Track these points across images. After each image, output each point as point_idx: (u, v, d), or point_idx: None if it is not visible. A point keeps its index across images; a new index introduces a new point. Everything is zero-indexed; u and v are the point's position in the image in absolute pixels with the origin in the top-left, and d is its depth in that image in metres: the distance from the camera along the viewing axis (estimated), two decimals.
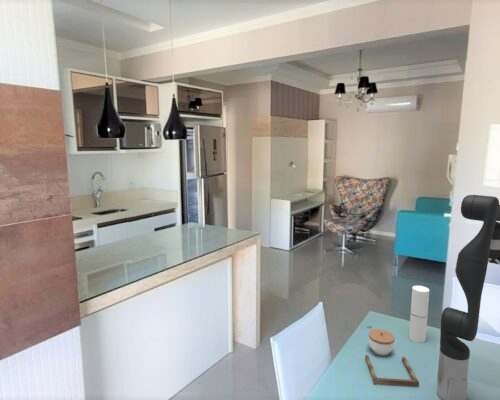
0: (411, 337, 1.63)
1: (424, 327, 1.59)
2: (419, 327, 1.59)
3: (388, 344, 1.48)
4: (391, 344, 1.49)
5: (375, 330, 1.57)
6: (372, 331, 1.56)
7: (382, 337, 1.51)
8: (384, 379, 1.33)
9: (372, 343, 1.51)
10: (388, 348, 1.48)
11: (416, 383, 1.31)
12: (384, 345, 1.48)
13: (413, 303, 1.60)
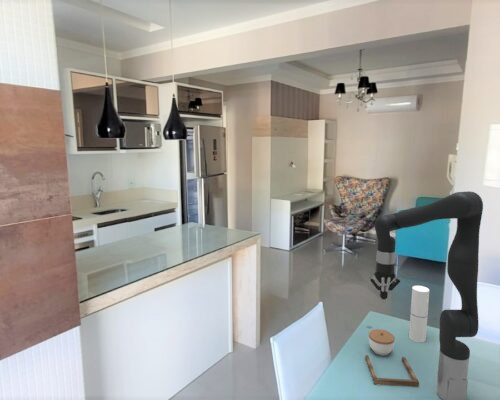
0: (411, 337, 1.63)
1: (424, 327, 1.59)
2: (419, 327, 1.59)
3: (388, 344, 1.48)
4: (391, 344, 1.49)
5: (375, 330, 1.57)
6: (372, 331, 1.56)
7: (382, 338, 1.51)
8: (384, 379, 1.33)
9: (372, 343, 1.51)
10: (388, 348, 1.48)
11: (416, 383, 1.31)
12: (384, 345, 1.48)
13: (413, 303, 1.60)
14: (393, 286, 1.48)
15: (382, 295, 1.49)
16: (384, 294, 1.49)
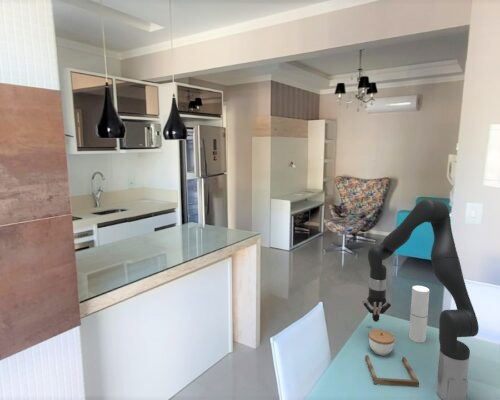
0: (411, 337, 1.63)
1: (424, 327, 1.59)
2: (419, 327, 1.59)
3: (388, 344, 1.48)
4: (391, 344, 1.49)
5: (375, 330, 1.57)
6: (372, 331, 1.56)
7: (382, 338, 1.51)
8: (384, 379, 1.33)
9: (372, 343, 1.51)
10: (388, 348, 1.48)
11: (416, 383, 1.31)
12: (384, 345, 1.48)
13: (413, 303, 1.60)
14: (384, 310, 1.61)
15: (374, 318, 1.63)
16: (376, 317, 1.62)
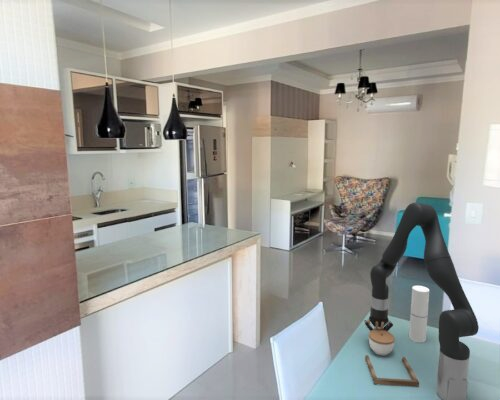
0: (411, 337, 1.63)
1: (424, 327, 1.59)
2: (419, 327, 1.59)
3: (388, 344, 1.48)
4: (391, 344, 1.49)
5: (375, 330, 1.56)
6: (372, 331, 1.56)
7: (382, 338, 1.50)
8: (384, 379, 1.33)
9: (372, 343, 1.51)
10: (388, 348, 1.48)
11: (416, 383, 1.31)
12: (384, 345, 1.48)
13: (413, 303, 1.60)
14: (386, 329, 1.57)
15: None
16: None
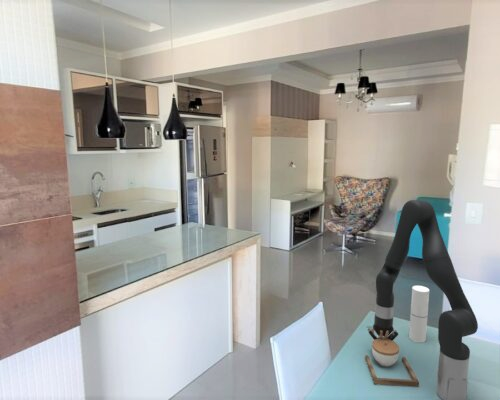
0: (411, 337, 1.63)
1: (424, 327, 1.59)
2: (419, 327, 1.59)
3: (392, 355, 1.40)
4: (395, 355, 1.41)
5: (379, 339, 1.49)
6: (376, 340, 1.48)
7: (386, 348, 1.43)
8: (384, 379, 1.33)
9: (375, 354, 1.44)
10: (392, 359, 1.41)
11: (416, 383, 1.31)
12: (388, 356, 1.40)
13: (413, 303, 1.60)
14: (391, 339, 1.50)
15: None
16: None
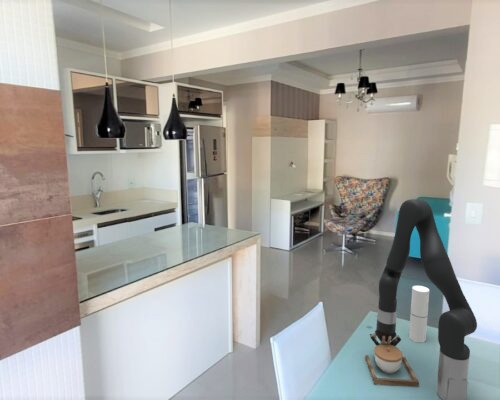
0: (411, 337, 1.63)
1: (424, 327, 1.59)
2: (419, 327, 1.59)
3: (395, 362, 1.36)
4: (399, 362, 1.37)
5: (382, 345, 1.45)
6: (378, 346, 1.44)
7: (389, 354, 1.39)
8: (384, 379, 1.33)
9: (378, 360, 1.39)
10: (395, 366, 1.36)
11: (416, 383, 1.31)
12: (391, 363, 1.36)
13: (413, 303, 1.60)
14: (394, 344, 1.45)
15: None
16: None
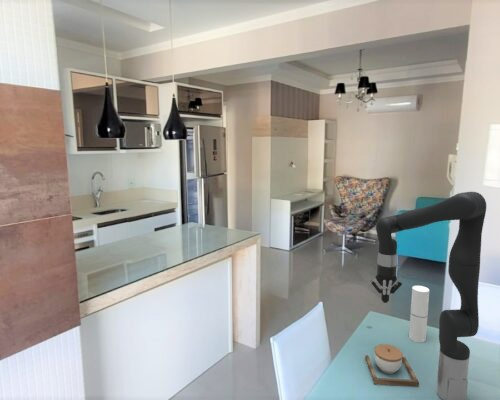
0: (411, 337, 1.63)
1: (424, 327, 1.59)
2: (419, 327, 1.59)
3: (395, 362, 1.36)
4: (399, 362, 1.37)
5: (382, 345, 1.45)
6: (378, 346, 1.44)
7: (389, 354, 1.39)
8: (384, 379, 1.33)
9: (378, 360, 1.39)
10: (395, 366, 1.37)
11: (416, 383, 1.31)
12: (391, 363, 1.36)
13: (413, 303, 1.60)
14: (395, 289, 1.45)
15: (383, 298, 1.47)
16: (385, 297, 1.46)
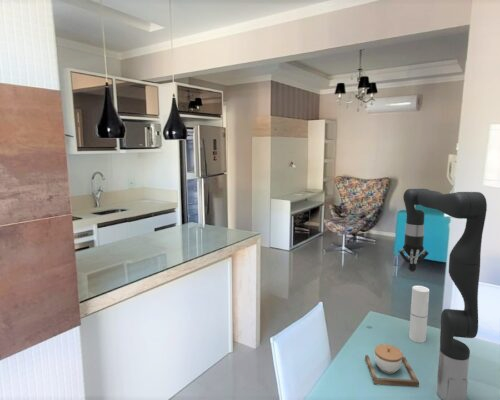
0: (411, 337, 1.63)
1: (424, 327, 1.59)
2: (419, 327, 1.59)
3: (395, 362, 1.36)
4: (399, 362, 1.37)
5: (382, 345, 1.45)
6: (378, 346, 1.44)
7: (389, 354, 1.39)
8: (384, 379, 1.33)
9: (378, 360, 1.39)
10: (395, 366, 1.37)
11: (416, 383, 1.31)
12: (391, 363, 1.36)
13: (413, 303, 1.60)
14: (421, 258, 1.52)
15: (411, 267, 1.54)
16: (413, 266, 1.53)
